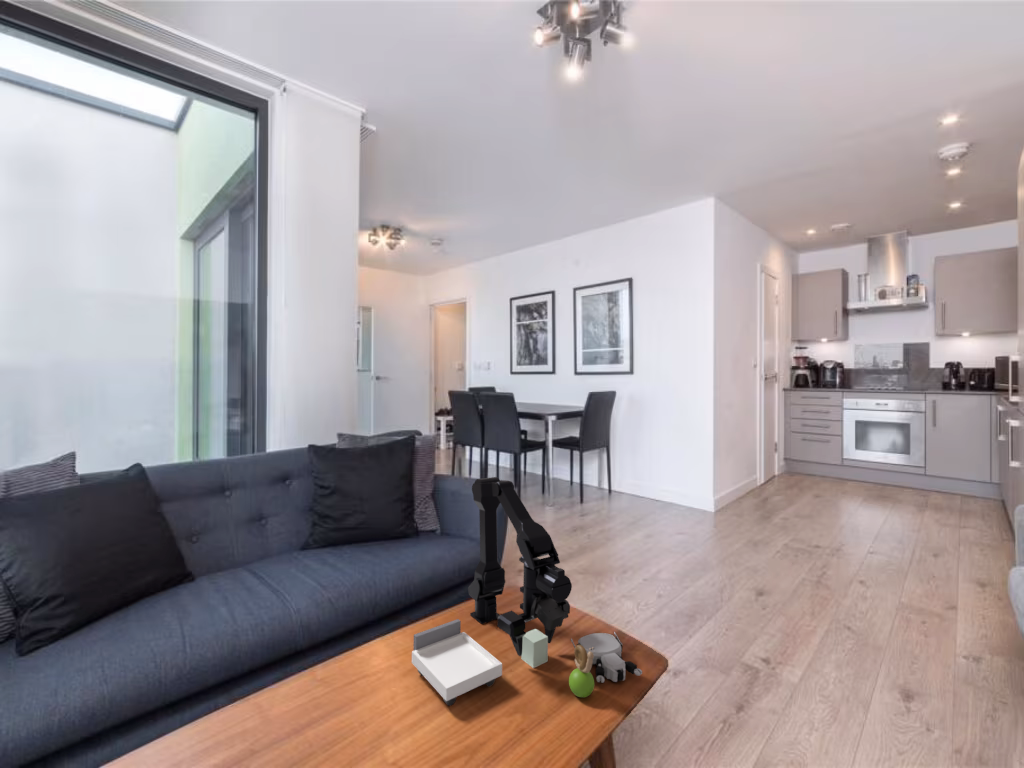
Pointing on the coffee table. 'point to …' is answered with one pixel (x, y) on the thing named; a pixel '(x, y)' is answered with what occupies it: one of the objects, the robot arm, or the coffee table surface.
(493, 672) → the tray
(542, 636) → the part block
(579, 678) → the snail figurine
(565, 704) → the coffee table surface
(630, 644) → the coffee table surface
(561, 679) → the coffee table surface
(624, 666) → the robot toy
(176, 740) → the coffee table surface
